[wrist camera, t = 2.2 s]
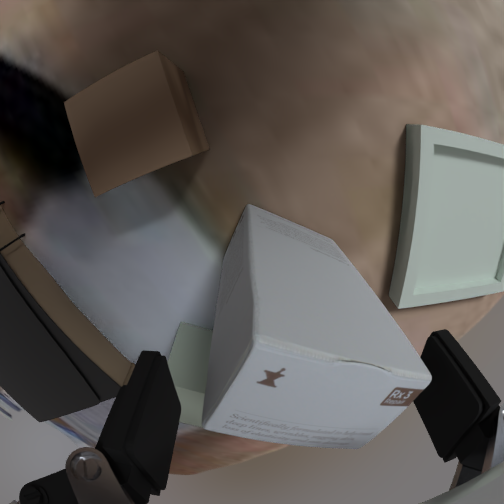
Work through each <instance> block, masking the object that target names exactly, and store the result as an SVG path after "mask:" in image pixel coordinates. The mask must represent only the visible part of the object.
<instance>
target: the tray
mask: <svg viewBox="0 0 504 504" xmlns="http://www.w3.org/2000/svg"><path fill="white" fill-rule="evenodd" d="M503 291H504V145H503V144H500V143H496V142H493V141H490V140H486V139H482V138H479V137H475V136H471V135H467V134H463V133H459V132H454V131H450V130H445V129H441V128H436V127H430V126H425V125H412V124H406V162H405V180H404V194H403V205H402V214H401V223H400V231H399V238H398V245H397V252H396V258H395V264H394V270H393V275H392V280H391V286H390V290H389V297H390V298H391V300H392V301H393V302H394V304H395V305H396V307H397V308H398V309H401V308H409V307H416V306H423V305H430V304H437V303H443V302H449V301H455V300H461V299H467V298H472V297H478V296H483V295H488V294H493V293H498V292H503Z"/></svg>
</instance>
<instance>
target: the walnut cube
mask: <svg viewBox="0 0 504 504" xmlns="http://www.w3.org/2000/svg"><path fill="white" fill-rule="evenodd" d="M64 105H65V109H66V112H67V116H68V119H69V123H70V126H71V130H72V133H73V136H74V140H75V143H76V146H77V149H78V152H79V155H80V158H81V161H82V164H83V167H84V170H85V172H86V175H87V178H88V181H89V183H90V186H91V189H92V191H93V194H94V196H95V197H97V196H99V195H101V194H103V193H105V192H107V191H109V190H111V189H114V188H116V187H118V186H120V185H122V184H125V183H127V182H129V181H131V180H133V179H136V178H138V177H140V176H143V175H145V174H147V173H150V172H152V171H155V170H157V169H160V168H162V167H164V166H167V165H170V164H172V163H175V162H177V161H180V160H182V159H185V158H188V157H190V156H193V155H196V154H198V153H201V152H204V151H206V150H209V149H210V148H209V145H208V142H207V139H206V136H205V134H204V131H203V128H202V125H201V122H200V119H199V116H198V113H197V110H196V107H195V104H194V101H193V98H192V95H191V92H190V89H189V86H188V83H187V81H186V78H185V75H184V72H183V71H182V70H181V69H180V68H178V67H177V66H176V65H175V64H174V63H172V62H171V61H170V60H169V59H168V58H166V57H165V56H164V55H163V54H161V53H160V52H159V51H158V50H157V51H154V52H152V53H150V54H148V55H146V56H144V57H141V58H139V59H137V60H135V61H133V62H131V63H129V64H127V65H125V66H123V67H122V68H120V69H118V70H116V71H114V72H112V73H110V74H109V75H107V76H105V77H103V78H102V79H100V80H98V81H97V82H95V83H93V84H92V85H90V86H88V87H87V88H85V89H84V90H82V91H80V92H79V93H77V94H76V95H74V96H73V97H71V98H70V99H68V100H67V101H65V102H64Z"/></svg>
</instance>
